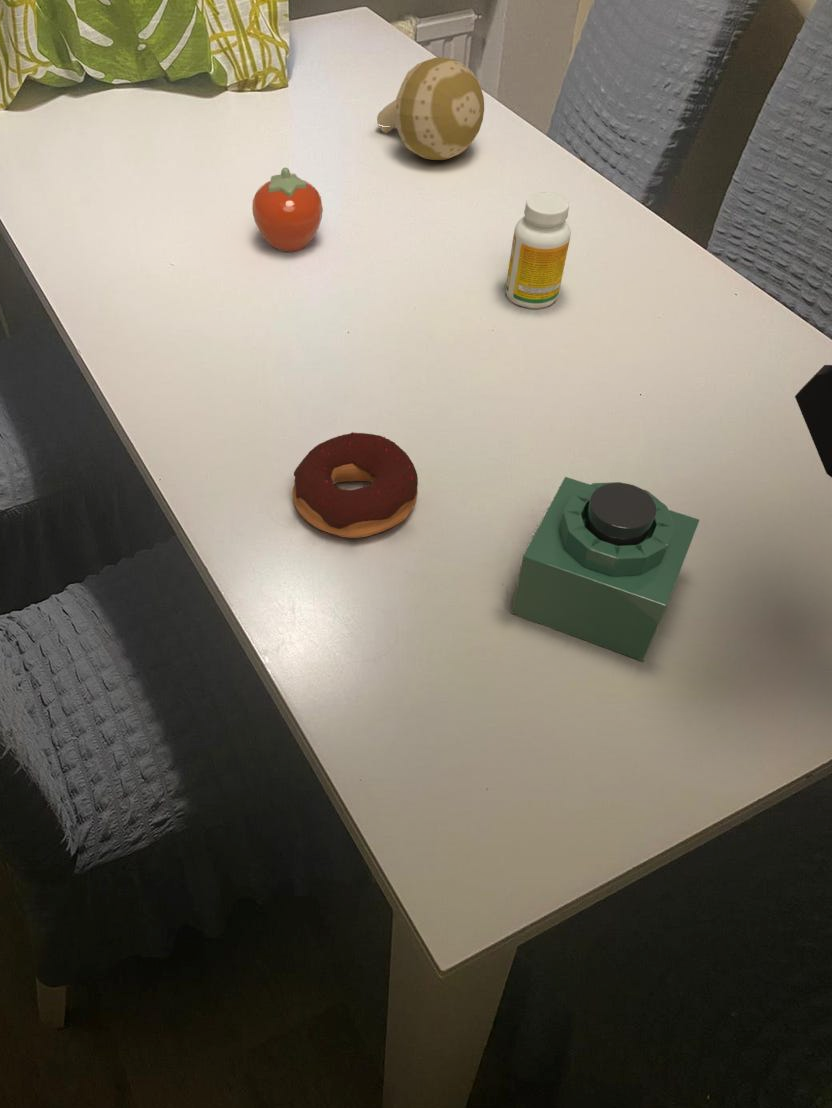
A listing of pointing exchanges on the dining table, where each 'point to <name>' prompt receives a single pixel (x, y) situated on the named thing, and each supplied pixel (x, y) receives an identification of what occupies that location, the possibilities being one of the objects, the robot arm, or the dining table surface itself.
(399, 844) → the dining table surface
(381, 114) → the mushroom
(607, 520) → the dark round knob
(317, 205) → the tomato
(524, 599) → the button base
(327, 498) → the donut
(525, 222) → the supplement bottle
